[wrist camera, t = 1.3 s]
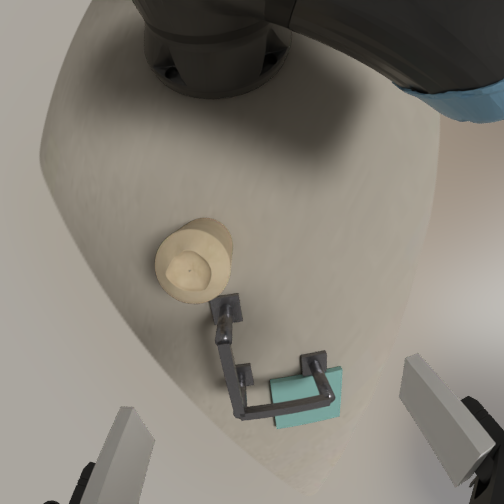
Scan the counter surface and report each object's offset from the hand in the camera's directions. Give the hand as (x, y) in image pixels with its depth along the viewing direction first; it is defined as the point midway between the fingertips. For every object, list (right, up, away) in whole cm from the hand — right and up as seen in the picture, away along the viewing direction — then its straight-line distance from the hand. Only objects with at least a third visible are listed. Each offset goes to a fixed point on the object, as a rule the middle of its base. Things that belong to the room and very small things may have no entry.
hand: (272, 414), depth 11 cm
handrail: (+1, -2, +19) cm, 19 cm away
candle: (-6, +8, +17) cm, 19 cm away
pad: (+6, -12, +21) cm, 25 cm away
